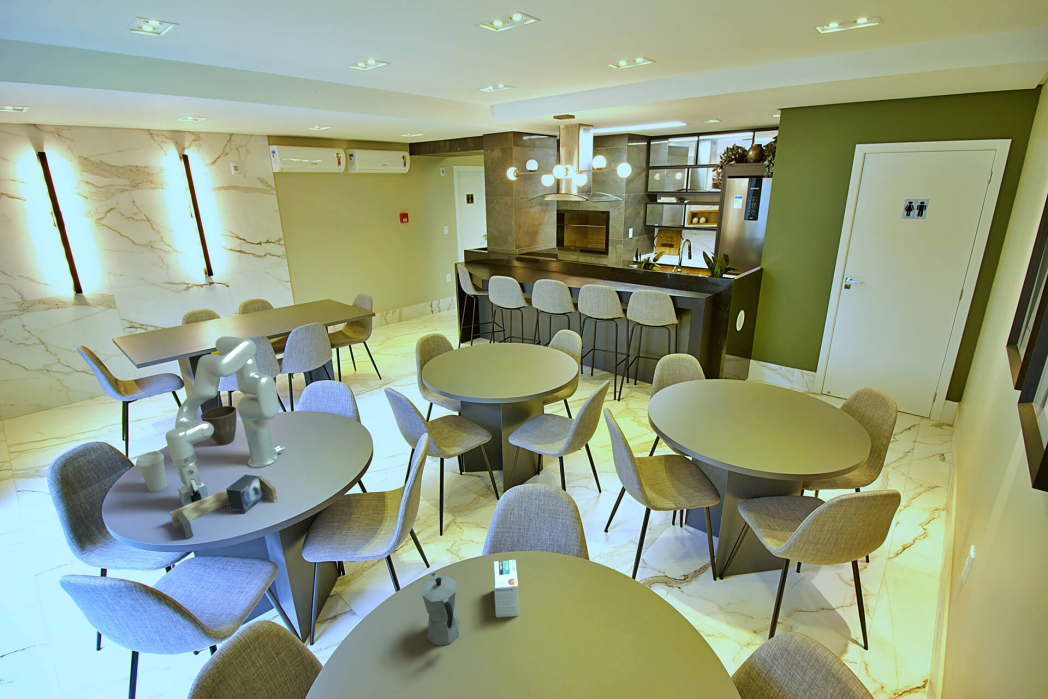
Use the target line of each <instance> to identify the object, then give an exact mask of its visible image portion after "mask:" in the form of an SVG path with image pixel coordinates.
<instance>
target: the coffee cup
mask: <svg viewBox="0 0 1048 699" xmlns="http://www.w3.org/2000/svg"><path fill="white" fill-rule="evenodd" d="M164 459H165V455H164V454H163V453H162V452H161V451H159V450H155V451H154V450H153V451H148V452H145V453H143V454H141V455H139V456H138V457H137V458H136V462H135V466H137V467H138V469H139V471H140V473H141V476H142V478H143V480H144V483H145V485H146V488H147V489H148V492H150V493H156V492H160V491H163V490H164V489H167V487H168V479H167V472H166V466H165V461H164Z"/></svg>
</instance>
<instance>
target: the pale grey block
mask: <svg viewBox="0 0 1048 699" xmlns="http://www.w3.org/2000/svg"><path fill="white" fill-rule="evenodd" d="M201 483H202V485H201V486H199V485H198V484H197V486H198V489H199V492H200V494H201V498H202V499H203V498H206V497H208V496H209V495H208V490H207V487H206V485H205V483H204V482H203V481H202V480H201ZM190 488H192V486H191V487H190ZM177 491H178V495H179V498H180V502H181V505H182V507H184V506H186V505H189V504H191V503H192V500H191V493H190V490H188V489H187V488H186V487H185V486H183V487H180V488H178V489H177ZM193 491H194V490H193V489H192V492H193Z"/></svg>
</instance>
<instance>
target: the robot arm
mask: <svg viewBox="0 0 1048 699" xmlns="http://www.w3.org/2000/svg"><path fill="white" fill-rule="evenodd" d="M215 348H216V350H217V352H218V353H219V354H214V353H213V354H212V353H211V354H209V353H208V354H204V355H202V356H200V358H199V360H198V361H197V367H196V371H195V376H194V380H193V381H194V382H193V385H192V390H191V393H190V394H189V395H188V396H187V397H186V399H185V400H184V401H183V402H182V404H181V405H180V407H179V408H178V411H177V414H176V419H175V425H174V426H175V427H174V428H173V429H170V430H169V431H167V432H166V434H165V441H166V444H167V447H168V451H169V455H170V458H171V462H172V466H173V467H174V468H175V469H176V468H177V472H178V476H179V479H180V482H181V483H182V485H184V486H183V487H186V488H187V489H188V490H190V493H191V500H192V503H193V502H196V501H198V500H201V499H202V498H201V494H200V492H199V489H198V486H197V484H198V485H199V486H201V485H202V483H201V481H202V479H201V477H200V473H199V470H198V468H197V465H196V462H197V456H196V453H195V449H194V444H196V443H197V444H198V443H200V442H203V441H206V440H208V439H209V438H212V437H211V435H212V434H213V432H214V427H213V425H212V424H211V423H209V422H206V421H202V420H201V419H200V420H199V419H196V414H197V411H198V409H199V408H200V407H201V405H202V404H204V403H205V402H207V401H210V400H211V399H212V400H213V399H214V398H215V397H217V395H218V392H219V391H218V390H219V385H220V381H221V378H228V377H231V376H232V375H234V374H235V378H236V384H237V389H238V390H239V392H240V393H242V394H245V395H246V396H244V397H242V398H240V399H239V400H238V402H237V407H236V410H237V413H238V415H239V417H240V419H241V422H242V425H243V428H244V432H245V438H246V442H247V447H248V450H249V455H250V458H248V461H247V465H248V466H249V467H251V468H263V467H267V466H270V465H273V464H274V463H275V462H277V461H278V460H279V458H280V457H279V453H280V452H284V451H286V448H285V446H284V445H282V446H280V445H277V446H276V447H274V445H273V439H272V435H271V431H270V425H269V422H268V421H269V420H274V418H276V416H277V415H278V414H279V409H280V406H279V398H278V390H277V384H276V381H275V380H274V379H273V377H272V376H270V375H269V374H265V373H260V372H259V369H258V364H257V361H256V357H255V355H256V352H257V345H256V343H255V342H254V341H253V340H252V339H250V338H245V337H236V336H221V337H218V338H217V339H216V341H215ZM191 486H192V488H190V487H191ZM192 489H193V490H194V491H193V492H192Z"/></svg>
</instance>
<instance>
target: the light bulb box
mask: <svg viewBox="0 0 1048 699" xmlns="http://www.w3.org/2000/svg"><path fill="white" fill-rule="evenodd" d="M493 589H494V590H493V591H494V610H495V617H496V618H505V617H506V618H508V617H518V616H519V583H518V572H517V562H516V559H510V560H501V561H500V560H499V561H498V560H497V561H493Z"/></svg>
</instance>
